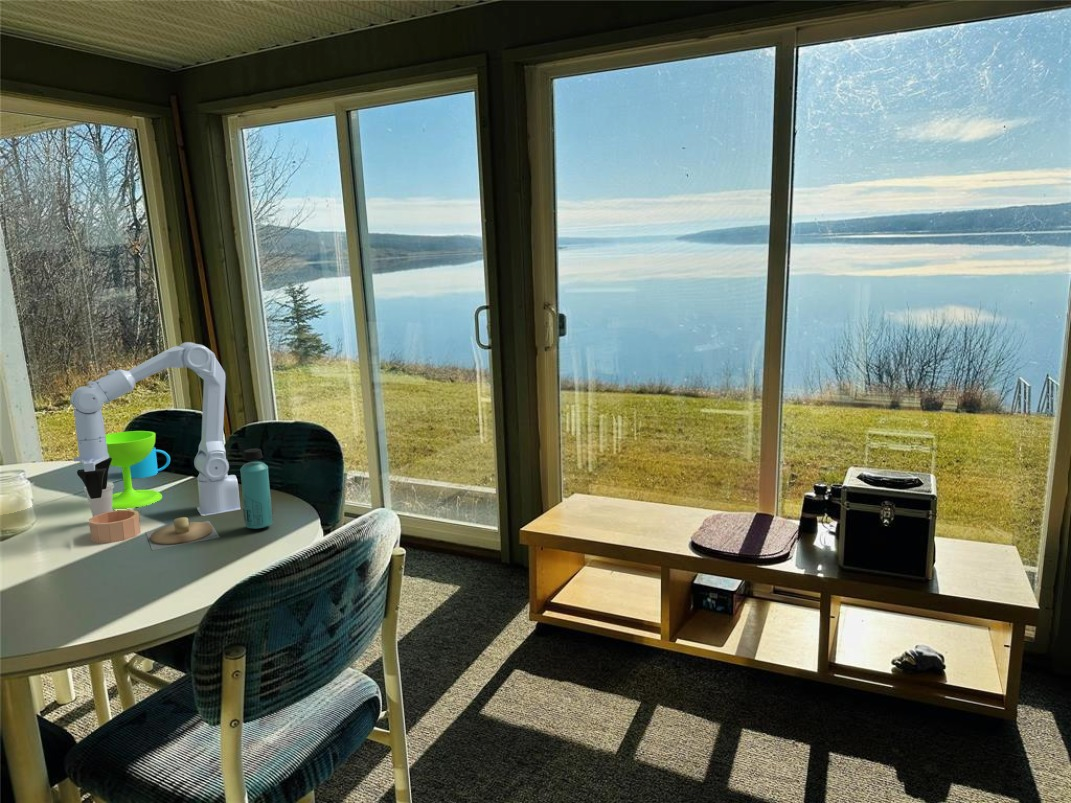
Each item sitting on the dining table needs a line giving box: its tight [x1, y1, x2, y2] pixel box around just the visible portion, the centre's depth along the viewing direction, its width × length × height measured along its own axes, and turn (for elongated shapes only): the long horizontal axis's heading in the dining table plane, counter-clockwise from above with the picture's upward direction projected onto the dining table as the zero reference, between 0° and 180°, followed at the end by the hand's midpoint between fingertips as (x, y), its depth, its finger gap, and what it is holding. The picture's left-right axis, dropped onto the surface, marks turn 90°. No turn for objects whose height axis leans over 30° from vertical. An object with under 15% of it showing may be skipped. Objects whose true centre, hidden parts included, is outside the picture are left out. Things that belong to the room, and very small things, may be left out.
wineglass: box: [105, 430, 163, 510], centre depth 193 cm, size 16×16×18 cm
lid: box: [151, 516, 213, 545], centre depth 167 cm, size 13×13×4 cm
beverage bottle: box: [239, 448, 274, 529], centre depth 169 cm, size 6×7×20 cm
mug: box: [130, 446, 171, 479], centre depth 222 cm, size 12×8×8 cm
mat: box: [145, 520, 221, 551], centre depth 167 cm, size 14×14×1 cm
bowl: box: [88, 509, 142, 544], centre depth 167 cm, size 10×10×5 cm
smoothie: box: [83, 481, 115, 517], centre depth 177 cm, size 6×6×14 cm
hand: (98, 493), depth 168 cm, fingers open, 7 cm apart
